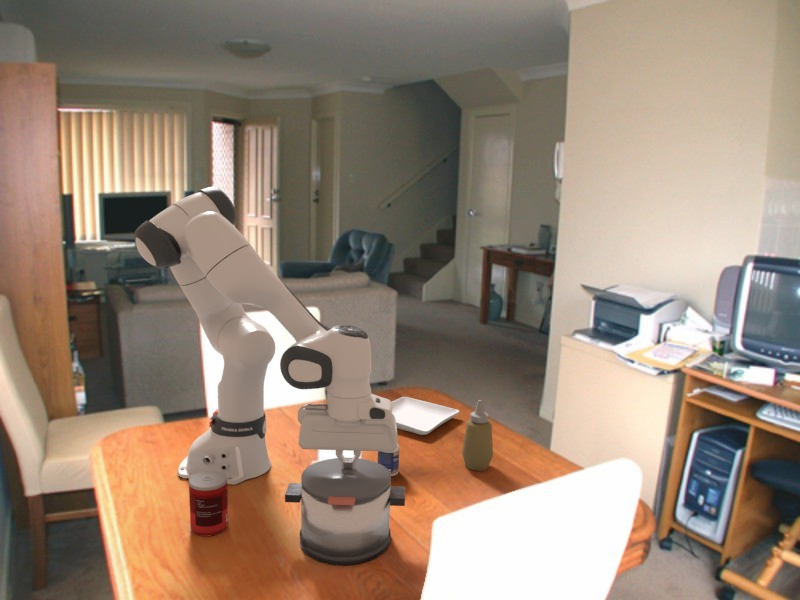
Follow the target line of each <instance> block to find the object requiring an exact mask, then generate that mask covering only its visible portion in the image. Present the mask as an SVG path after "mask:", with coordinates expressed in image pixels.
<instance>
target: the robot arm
mask: <svg viewBox="0 0 800 600" xmlns="http://www.w3.org/2000/svg"><path fill="white" fill-rule="evenodd" d="M236 220H237V211H236V207H235V206H234V203H233V202H232V201H231V199H230V197H229V196H228V195H227V194H226V193H225V192H224V191H223V190H222V189H220V188H217V187H215V186H208V187H204V188H201V189H198V190H197V191H196V192H195V193H192V194H190V195H188V196H186V197H185V196H184V197H183V198H181V199H179V200H177V201H175V202H173V203H172V204H171V205H170V206H168V207H167V208H165V209H164V210H162V211H160V212H159V213H157V214H156V215H154V216H153V217H152V218H150V219H149V220H145V221H144V222H143V223H141V224H140V225H139V226H138V227H137V228H136V229H135V231H134V241H135V245H136V249H137V251H138V253H139V254H140V256H141V257H142V258H143V259H144V260H145V262H147V263H149V264H150V265H151V266H152V267H154V268H155V269H156V268H157V269H163V270H164V269H168V268H169V269H170V271H171V273H172V274H173V277H174V279H175V280H176V282H177V284H178V285H179V287H180V289H181V291H182V292H183V294H184V295H185V297H186V299H187V300H188V302H189V303H190V305H191V307H192V308H193V311H194V312H195V314H196V316H197V319H198V321H199V323H200V326H201V328H202V329H203V332H204V334H205V335H206V338H207V339H208V341H209V344H210V345H211V347H212V348H213V350H214V351H216V353H219V354H220V355H221V356H222V359H223V371H222V375H221V379H220V381H219V383H218V384H217V409H215V410H214V412H212V416H211V417H210V420H209V424H208V425H209V426H208V427H209V428H210V429H208V430H206V432H203V434H201V435H200V436H198V437H197V438H195V440H194V441H193V442H192V444H191V446H190V448H189V450H188V454H187V456H186V457H184V459H182V461H181V462H180V464H179V466H178V468H177V475H178V477H179V476H180V477H182V478H181V479H187V478H188V480H189V479H190V478H191V477H192V476H193V475H195V474H197V473H199V472H203V471H219V472H222V473H224V474H225V475H226V476H227V485H237V484H241V483H242V482H244V481H246V480H250V479H254V478H257V477H260V476H262V475H263V474H265V473H267V472H268V471H269V470H270V469H271V468H272V467H271V466H272V462H271V460H270V457H269V453H268V449H267V442H266V434H267V419H266V412H265V411H264V410H265V404H264V401H265V399H264V396H265V395H264V393H265V392H264V389H265V388H264V387H265V379H266V374H267V369H268V365H269V364H270V363H271V362H272V360H273V358H274V356H275V353H276V342H275V340H274V337H272V335H271V333H270V332H269V331H268V329H266V327H265V326H263V325H262V324H260V323H257V322H256V321H255V320H253V319H252V318H250V317H249V316H248V315H249V314H247V313H246V311H245V310H244V307H243V305H250V306H254V307H258V308H260V309H261V308H262V309H263V310H265V311H267V312H269V313H270V314H271V315H272V316H273V317H274V318H275V319H277V321H278V322H279V323H280V324H281V325H282V327H283V328H285V330H286V331H287V332H288V333H289V334H290V335H291V336H292V337H293V339H294V340H295V343H293V344H292V345H290V346H288V348H287V349H286V350H285V351H284V352H283V354H282V355H281V358H280V363H279V368H280V372H281V375H282V377H283V379H284V381H286V383H287V384H288V385H290V386H291V387H292V388H294V389H298V390H316V389H317V390H318V389H323V388H326V390H327V391H326V392H327V393H326V394H327V395H326V397H327V398H326V401H327V402H326V403H318V404H313V403H306V404H305V405H303V406H300V407H299V409H298V410H297V422H299V424H300V428H299V433H298V446H299V447H300V449H301V450H316V451H317V450H318V451H319V450H321V451H323V450H324V451H325V450H326V451H330V450H331V451H335V456H336V457H337V458H338V459H339V461H340V462H341V470H355V466H356V461H357V460H358V458H359V459H360V456H361V454H362V452H363V451H364V452H378V451H387V452H393V451H395V449H396V448H397V446H398V445H399V444H398V442H399V441H398V429H397V425H396V420H395V417H394V415H393V414H392V403H391V402H392V401H391V400H390V399H389V398H385V397H382V396H379V395H377V394H374V393H372V388H371V387H372V386H371V383H370V377H371V374H372V369H373V368H372V362H373V361H372V348H371V340H370V337H369V334H368V333H367V332H366V331H365V330H363V329H361V328H360V327H357V326H355V325H351V324H350V325H348V324H338V325H334V326H332V328H329V327H328V326H327V325H325V324H324V323H322V322H321V321H319V320H318V319H317V318H316V317H315V315H314V314H312V313H311V311H310V310H309V309H308V308H307V307H306V305H304V303H303V302H302V301H301V300H300V299H299V298H298V297H297V295H295V293H294V292H293V291H292V290H291V289H290V288H289V287H288V286H287V285H286V284H285V283H284V282H283V281H282V280H281V279H280V277H278V276H277V274H275V272H274V271H272V269H271V268H270V267H269V265H268V264H267V263H266V262H265V260H263V258H262V257H261V256H260V254H259V253H258V252H257V251H256V250H255V247H253V246H252V244H251V243H250V242H249V240H248V239H246V237H245V236H244V235H243V234H242V232H241V231H240V230H238V228H236V227H235V224H236ZM242 304H243V305H242ZM344 451H353V457H352V458H353V459H345V458H346V457H345V455H344V454H343V453H344ZM180 477H179V478H180Z"/></svg>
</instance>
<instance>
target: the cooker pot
mask: <svg viewBox="0 0 800 600" xmlns="http://www.w3.org/2000/svg"><path fill="white" fill-rule="evenodd" d="M284 503H295V504H297V503H298V504H301V505H300V507H301V511H300V512H301V515H300V516H301V518H300V519H301V520H300V521H301V527H300V531H299V545H300V548H301V550H302V552H304V554H305V555H307V557H308V558H311V559H312V560H315V561H316V562H319V563H323V564H325V565H330V566H337V567H338V566H339V567H340V566H342V567H344V566H345V567H346V566H347V567H349V566H356V565H362V564H365V563H368V562H369V563H370V562H372V561H374V560H376V559H378V558H379V557H380V556H382V555H383V554H385V552H387V550H388V549H389V546H390V545H391V529H390V528H391V527H390V519H391V518H390V517H391V516H390V514H391V513H390V512H391V508H390V507H391V506H393V507H394V506H395V507H397V506H398V507H405V506H406V504H405V503H406V487H405V486H392V485H390V487H389V489H388V490H387V491H386V492H385V493H384V494H382V495H380V496H378V497H376V498H373V499H370V500H366V501H361V502H355V505H330V504H328V501H324V500H321V499H318V498H315V497H313V496H311V495H309V494H308V493H306V492H305V491H304V490H303V488H302V485H301V483H300V482H299V483H297V482H296V483H295V482H289V483H288V486H287V488H286V491H285V492H284Z"/></svg>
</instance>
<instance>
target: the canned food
mask: <svg viewBox="0 0 800 600" xmlns="http://www.w3.org/2000/svg"><path fill="white" fill-rule="evenodd" d="M228 490H229V489H228V484H227V476H226V475H225V474H224V473H222V472H219V471H203V472H199V473H197V474H195V475H193V476H192V477H191V478H190V479H188V492H189V493H188V495H189V497H188V498H189V516H190V517H189V518H190V519H189V521H190V529H191V530H192V533H194V534H195V533H196V535H197V536H200V535H201V537H211V535H213V536H216V535H219V534H221V533H222V532H223V531H225V530H226V528H228V524H229V506H228V505H229V502H228V500H229V499H228V494H229V493H228ZM220 532H221V533H220ZM218 533H219V534H218ZM209 535H210V536H209Z"/></svg>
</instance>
